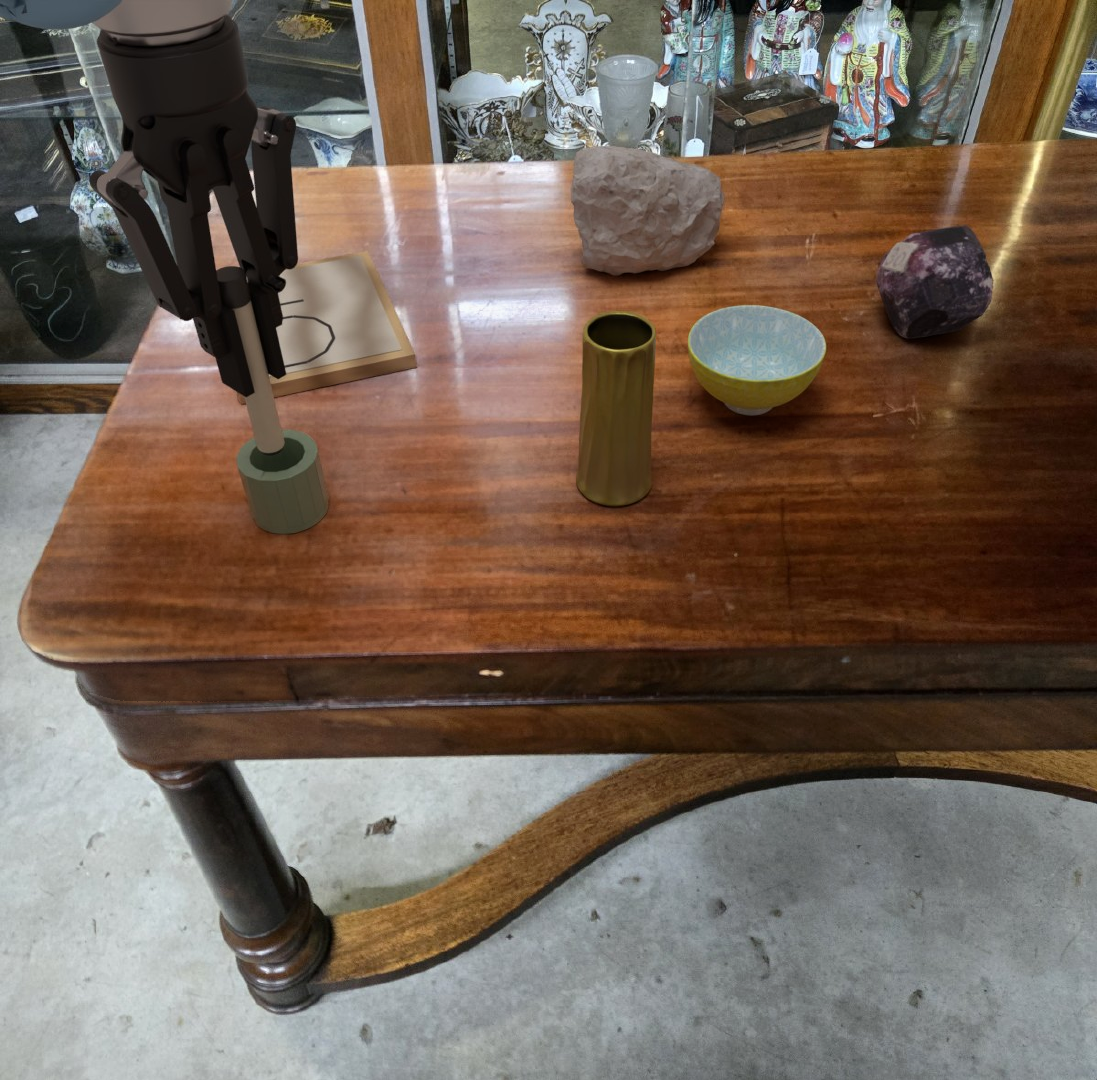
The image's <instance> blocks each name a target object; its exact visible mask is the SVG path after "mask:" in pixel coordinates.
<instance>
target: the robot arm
mask: <svg viewBox="0 0 1097 1080" xmlns="http://www.w3.org/2000/svg"><path fill="white" fill-rule="evenodd" d="M232 8H233V0H0V18H1V19H2V20H4V21H7V22H8V21H9V22H14V23H19V24H21V25H24V26H28V27H33V28H37V29H42V30H54V31H55V30H56V31H57V30H58V31H61V30H71V29H77V28H80V27H85V26H88V25H89V24H93V26H95V27H96V28H98V29H99V30H100V32H99V35H98V36H97V38H96V44H97V48H98V51H99V54H100V58H101V61H102V65H103V68H104V72H105V75H106V78H107V82H108V85H109V88H110V91H111V96H112V98H113V101H114V103H115V105H116V107H117V110H118V111H119V114H120V117H121V121H122V130H121V136H120V145H121V149H122V152H123V153H122V154H121V155H120V156H119V157H118V158H117V159H116V160H115V162H114V163H113V164H112V165H111V167H110V168H109V169H108V170H107V171H105V170H102V169H96V170H94V171H92V172H91V174H90V176H89V181H88V183H89V186H90V187H91V189H92V190H93V191H94V192H95V193H96V194H97V195H98V196H99V197H101V199H103V201H104V202H105V203H106V204H107V205H108V206H109V207H110V208H111V209H112V210H113V213H114V215H115V216H116V219H117V221H118V223H119V225H120V227H121V229H122V232H123V234H124V236H125V239H126V240H127V242H128V244H129V247H130V248H131V249H130V250H131V251H132V253H133V255H134V257H135V260H136V261H137V263H138V265H139V268H140V269H141V272H142V274H143V276H144V279H145V281H146V283H147V285H148V286H149V289H150V291H151V293H152V295H153V297H154V299H155V301H156V303H157V305H158V307H160V309H161V308H162V309H163V310H164V311H166V312H168V313H169V314H171V315H173V316H175V317H177V318H178V319H180V320H182V321H184V322H190V321H191V320H192V321H193V324H194V328H195V331H196V334H197V339H198V343H199V345H200V347H201V349H202V350H203V351H204V352H205V353H206V354H208V355H210V356H212V357H213V358H214V359H215V362H216V366H217V369H218V372H219V376H220V380H221V383H222V384H223V385H225V386H227V387H228V388H230V389H232V390H233V391H235V392H236V393H237V392H238V393H240V394H241V395H243V396H244V397H248V396H250V395H252V394H253V393H255V391H254V387H253V383H252V379H251V375H250V371H249V367H248V363H247V359H246V355H245V351H244V347H243V343H242V339H241V335H240V331H239V327H238V323H237V319H236V316H235V312H234V310H232V309H230V308H229V307H227V306H225V305H222V304H221V298H220V292H219V285H218V279H217V272H216V270H217V267H216V266H217V265H216V259H215V253H214V247H213V240H212V235H211V228H210V222H209V213H210V212H211V211H212V204H211V198H210V192H211V190H212V192H213V195H214V198H215V201H216V203H217V206H218V208H219V211H220V215H221V217H222V220H223V223H224V225H225V229H226V231H227V234H228V236H229V241H230V243H231V245H232V249H233V251H234V254H235V257H236V260H237V263H238V267H240V268H242V269H243V270H244V271H245V274H246V277H247V280H248V282H247V283H248V287H249V291H250V295H251V303H252V307H253V311H254V315H255V320H256V324H257V328H258V332H259V336H260V341H261V345H262V349H263V353H264V358H265V362H266V366H267V370H268V374H270V375H271V376H273V377H275V378H276V379H280V378H282V377H283V376H285V375H286V370H285V366H284V361H283V357H282V352H281V348H280V343H279V339H278V334H277V330H276V328H277V327H278V326H280V325H282V322H283V314H282V310H281V305H280V300H279V296H278V293H279V292H281V291H283V290H284V288H285V286H286V280H285V279H283V278H282V277H280V274H281V273H282V272H283V271H284V270H285V269H289V270H290V269H293V268H295V266H296V265H297V264H298V263H299V251H298V237H297V225H296V224H297V223H296V212H295V211H296V210H295V199H294V198H295V197H294V185H293V170H292V151H293V145H294V139H295V135H296V129H297V123H296V121H297V120H296V119H295V118H294V116H292V115H290V114H287V113H284V112H282V111H279V110H277V109H274V108H271V107H269V106H266V105H262V106H260V107H257V104H256V102H255V100H254V98H253V97H252V96H250V94H249V92H248V90H247V88H248V86H249V75H248V74H249V73H248V70H247V69H248V68H247V65H246V60H245V55H244V49H243V45H242V40H241V36H240V30H239V26H238V23H237V22H236V21H235V20H233V18H232V17H231V16H230V15H228V14H229V13H230V11H231V9H232ZM250 145H251V147H250ZM250 148H251V150H250V151H251V152H250V153H251V162H252V163H251V164H252V174H253V178H252V176H251V172H250V168H249V166H248V165H249V164H248V163H247V160H246V158H247V154H248V151H249V149H250ZM143 172H145V173H147V175H149V176H150V177H151V178H152V179H154V180H155V181H156V182H157V185H158V190H159V195H160V196H159V197H160V199H161V201H162V202H163V203H164V205H165V206H166V210H167V215H168V221H169V228H170V233H171V237H172V238H171V239H172V243H173V250H174V255H175V257H174V255H173V252H172V251H171V248H170V245H169V243H168V241H167V239H166V237H165V235H164V232H163V230H162V227H161V226H160V223H159V221H158V219H157V217H156V215H155V212H154V210H153V209H152V207H151V206H150V205H149V203H148V202H147V201H146V199H147V198H148V196H149V192H148V190H147V188H146V185H145V183H144V181H143V176H142V175H143ZM253 191H254V195H255V198H254V195H253ZM238 393H237V394H238Z"/></svg>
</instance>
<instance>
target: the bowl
mask: <svg viewBox="0 0 1097 1080" xmlns="http://www.w3.org/2000/svg"><path fill="white" fill-rule="evenodd" d="M687 353H688V359H689V364H690V366H691V369H692V371H693V374H694V376H695V377H696V379H697V381H698V382H699V384H700V385H701V386H702V388H703V389H704V390H705V391H707V392H708V394H710V395H711V396H712V397H713V398H715V399H717V400H718V401H720V402H722V403H724V405H725V407H727V409H728V410H730V411H732V412H734V413H736V414H740V415H744V416H759V415H763V414H766V413H768V412H769V411H771V410H772V409H773V408H775V407H779V406H782V405H785V404H787V403H788V402H790V401H792V400H794V399H796V398H797V397H798V396H799V395H801V394H803V392H805V390H806V389H808V387H809V386H810V385H811V384H812V382H813V381H814V380H815V378H816V376H817V375H818V373H819V372H820V370H821V367H822V365H823V362H824V359H825V356H826V353H827V342H826V339H825V337H824V335H823V333H822V332H821V330H820V329H819V328H818V327H817V326H816V325H815V324H813V323H812V322H811V321H809V320H808V319H807V318H804V317H803V316H802V315H799V314H797V313H794V312H792V311H789V310H784V309H781V308H778V307H774V306H767V305H757V304H752V305H751V304H743V305H733V306H728V307H723V308H719V309H716V310H713V311H711V312H709V313H707V314H704V315H703V316H701V317H700V318H699V319H698V320H697V321H696V322H695V323H694V324H693V325H692V327H691V328H690V330H689V333H688V337H687Z"/></svg>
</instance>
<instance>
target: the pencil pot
mask: <svg viewBox="0 0 1097 1080" xmlns="http://www.w3.org/2000/svg"><path fill="white" fill-rule="evenodd" d="M282 433H283V438H284V442H285V443H284V446H283V449H282V451H281V452H280V453H278V454H276V455H273V456H267V455H264V454H263V453H262V452H261V451H260V450H259V449H258V448H257V444H256V440H255V436H254V437H252V438H250V439H249V440H247V441H246V442H245V443H244V444H243V445H242V446H241V447H240V448H239V451H238V452H237V455H236V458H235V463H236V466H237V470H238V474H239V477H240V481H241V484H242V487H243V490H244V491H243V492H244V494H245V497H246V500H247V503H248V508H249V511H250V513H251V516H252V520H253V521H254V523H255V524H256V525H257V526H258V527H259V528H260V529H262V530H264V531H266V532H268V533H271V534H277V535H290V534H295V533H300V532H303V531H306V530H308V529H310V528H312V527H314V526H315V525H317V524H318V523H320V522H321V520H322V519H323V518H324V517H325V516H326V514H327V513H328V512H329V511H328V510H329V507H330V497H329V493H328V488H327V484H326V483H327V482H326V479H325V475H324V469H323V466H322V460H321V457H320V451H319V448H318V445H317V442H316V440H314V439H313V438H312V437H311V436H310V434H308V433H306V432H304V431H303V432H302V431H299V430H296V429H282Z"/></svg>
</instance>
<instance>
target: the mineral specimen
mask: <svg viewBox="0 0 1097 1080" xmlns="http://www.w3.org/2000/svg"><path fill="white" fill-rule="evenodd" d="M994 281H995V280H994V277H993V274H992V271H991V267H990V265H989V263H988V260H987V255H986V252H985V250H984V248H983V246H982V244H981V243H980V239H979V238H978V237H977V235H976V233H975V232H974V231H973V229H972V228H971V227H969V226H968V225H967V224H965V225H956V226H949V227H943V228H936V229H930V230H925V231H920V232H913V233H911V234H908V236H907V237H905V238H904V239H903V240H902V241H899V242H896V243H895V244H894V245H893V247H892V248H891V249H890V250H889V251H887V252H886V253H884V254H883V256H881V260H880V261H879V264H878V267H877V272H876V279H875V282H876V286H877V289H878V293H879V295H880V298H881V301H882V303H883V306H884V308H885V311H886V314H887V317H888V319H889V321H890V323H891V325H892V327H893V329H894V330H895V332H896V333H897V334H898V335H899V336H900V337H902V338H903V339H918V338H925V337H926V338H927V337H930V336H935V335H941V334H942V335H943V334H947V333H953V332H957V331H960V330H962V329H963V328H965V327H966V326H968V325H970V324H972V323H973V322H974V321H977V320H978V319H979V318H981V317H983V316H984V314H985V313H986V312H987V310H988V308H989V306H990V305H991V303H992V300H993V290H994Z"/></svg>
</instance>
